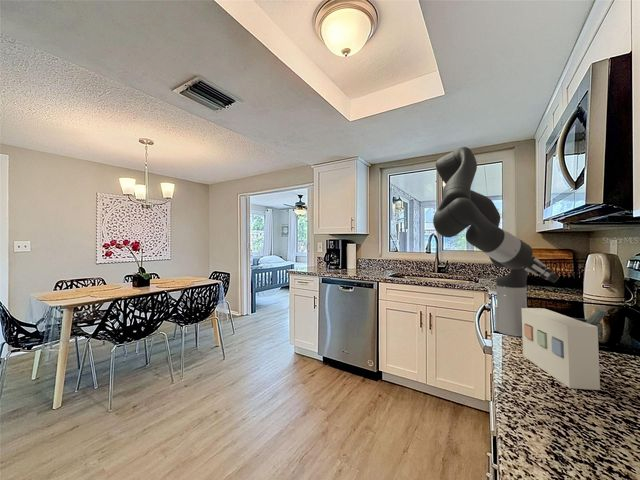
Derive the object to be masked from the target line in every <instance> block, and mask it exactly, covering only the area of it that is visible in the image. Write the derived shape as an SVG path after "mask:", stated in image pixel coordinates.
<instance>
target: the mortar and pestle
mask: <svg viewBox="0 0 640 480" xmlns="http://www.w3.org/2000/svg"><path fill="white" fill-rule="evenodd" d="M608 314H609V312H608V311H607V310H605V309H604V308H602V307H597V308H595V311H594V312H593V313H592V314H591V315H590V317H588V318H587V319H586V318H577V317H573V318H574V319H576V320H579V321H582V322H585V323H588V324H591V325H594V326H597V327H598V338H599V337H600V336H601V334H602V333H603V323H601V321H602V320H603V319H604V317H605V316H606V315H608Z"/></svg>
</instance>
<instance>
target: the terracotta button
mask: <svg viewBox="0 0 640 480" xmlns="http://www.w3.org/2000/svg"><path fill="white" fill-rule="evenodd" d="M524 336H526V337H527V338H529V339H531V340H533V327H532V326H530V325H524Z"/></svg>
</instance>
